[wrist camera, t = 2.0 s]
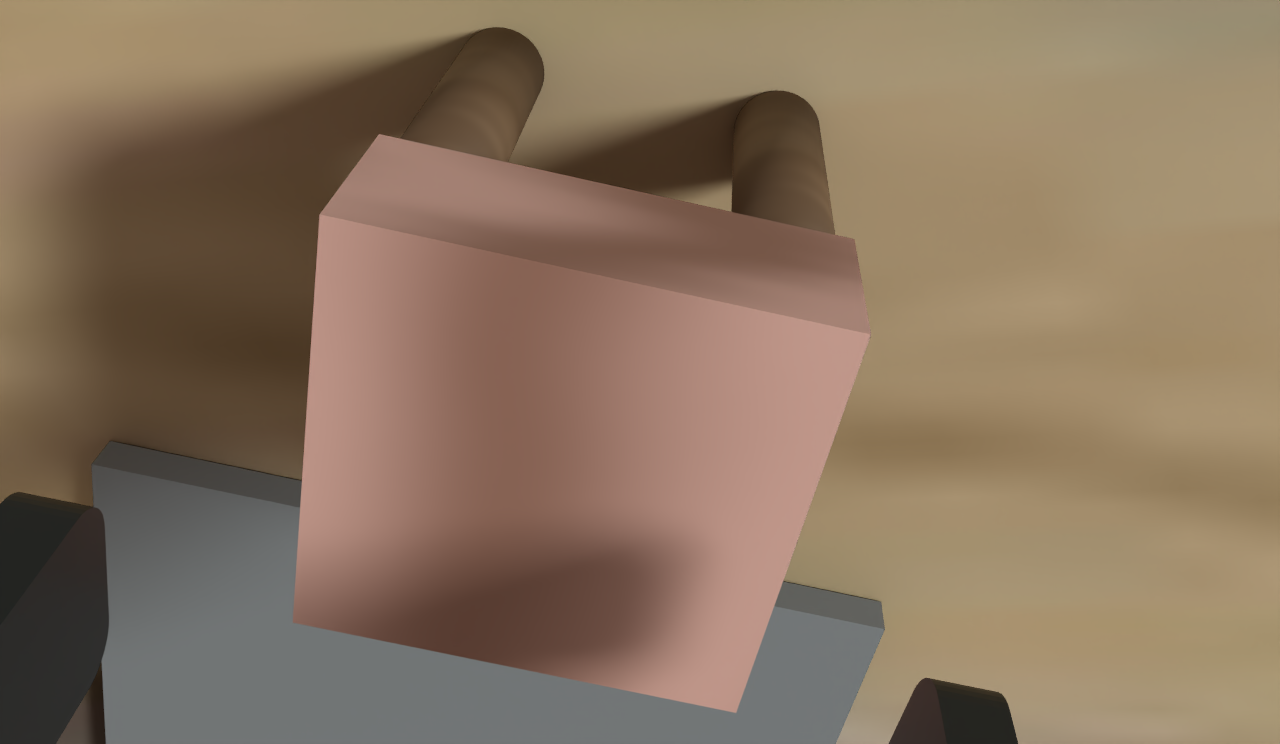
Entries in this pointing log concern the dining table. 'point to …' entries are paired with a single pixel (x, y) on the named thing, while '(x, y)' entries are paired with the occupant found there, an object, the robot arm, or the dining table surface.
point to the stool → (570, 395)
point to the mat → (383, 643)
